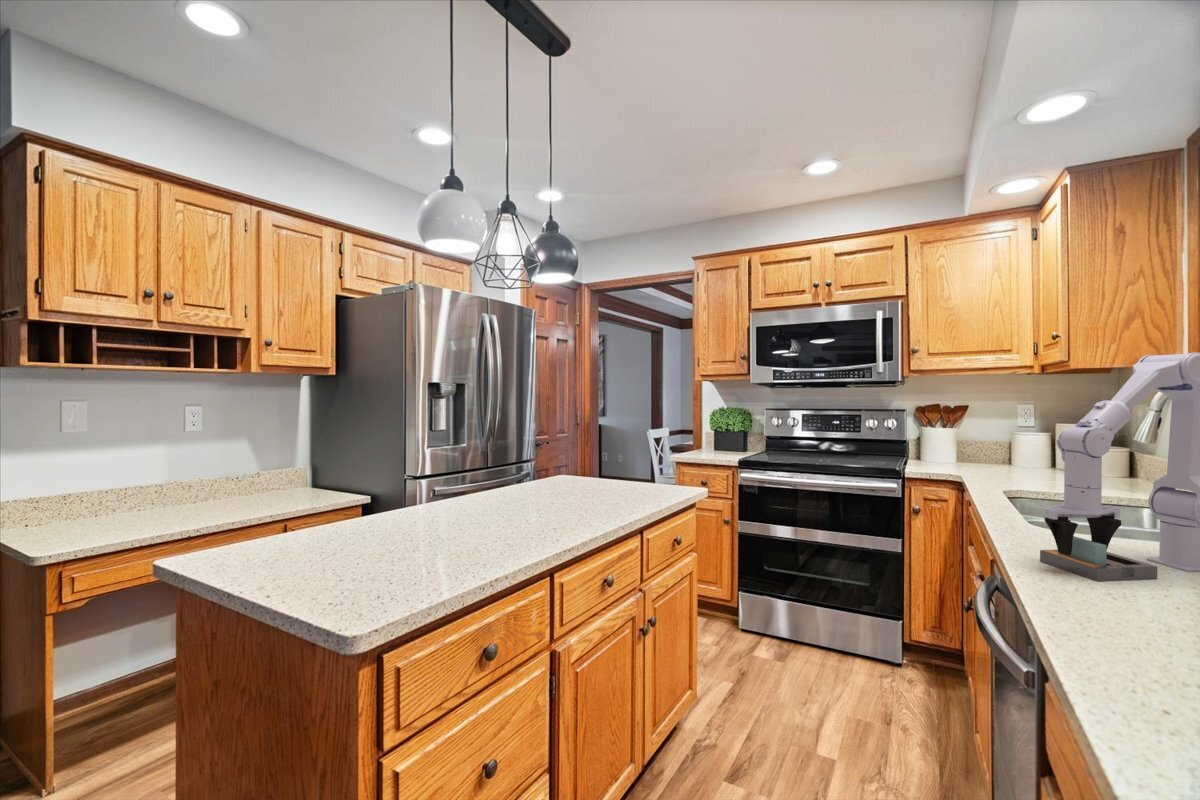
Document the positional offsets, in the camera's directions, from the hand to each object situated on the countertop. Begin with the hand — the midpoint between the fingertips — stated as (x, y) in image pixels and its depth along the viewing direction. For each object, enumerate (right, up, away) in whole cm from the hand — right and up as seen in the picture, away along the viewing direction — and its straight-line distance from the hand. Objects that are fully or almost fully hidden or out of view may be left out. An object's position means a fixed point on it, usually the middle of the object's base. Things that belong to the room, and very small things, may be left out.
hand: (1081, 553), depth 114 cm
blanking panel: (0, -3, 0) cm, 3 cm away
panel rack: (+3, -3, 0) cm, 5 cm away
